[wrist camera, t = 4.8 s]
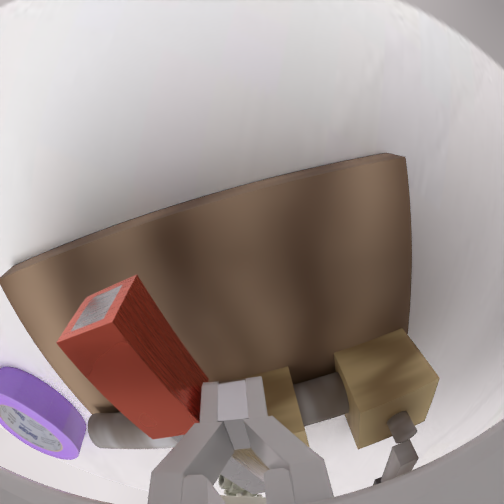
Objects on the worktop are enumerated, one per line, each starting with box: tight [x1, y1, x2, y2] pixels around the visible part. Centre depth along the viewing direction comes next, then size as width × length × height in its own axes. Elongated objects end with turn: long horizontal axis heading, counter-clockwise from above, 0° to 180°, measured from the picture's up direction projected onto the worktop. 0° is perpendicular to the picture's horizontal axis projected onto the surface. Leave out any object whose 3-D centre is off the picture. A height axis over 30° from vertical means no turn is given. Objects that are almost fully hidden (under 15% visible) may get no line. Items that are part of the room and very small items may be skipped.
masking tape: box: [0, 367, 86, 460], centre depth 20 cm, size 12×12×4 cm
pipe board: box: [0, 153, 439, 485], centre depth 16 cm, size 25×27×10 cm
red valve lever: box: [56, 274, 270, 494], centre depth 10 cm, size 2×14×3 cm, turn 22°
